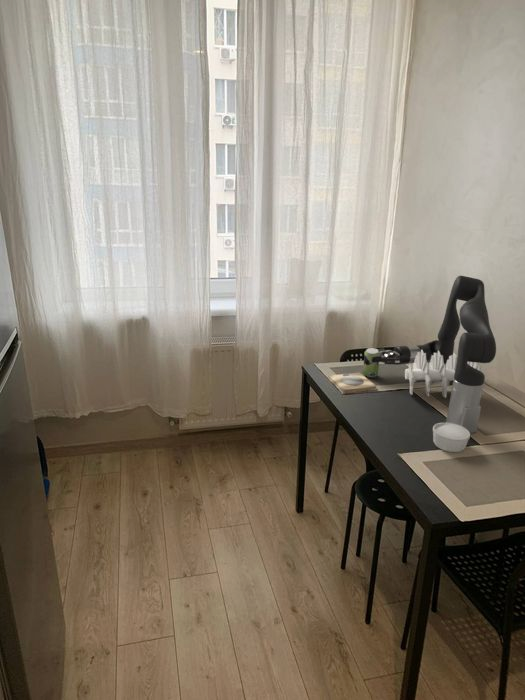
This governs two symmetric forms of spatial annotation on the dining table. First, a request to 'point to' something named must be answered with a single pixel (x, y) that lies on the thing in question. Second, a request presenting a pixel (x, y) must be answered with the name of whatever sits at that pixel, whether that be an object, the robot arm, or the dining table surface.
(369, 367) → the beverage can
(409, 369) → the white adirondack chairs
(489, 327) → the robot arm
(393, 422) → the dining table surface
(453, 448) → the ramekin
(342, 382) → the hub seat
